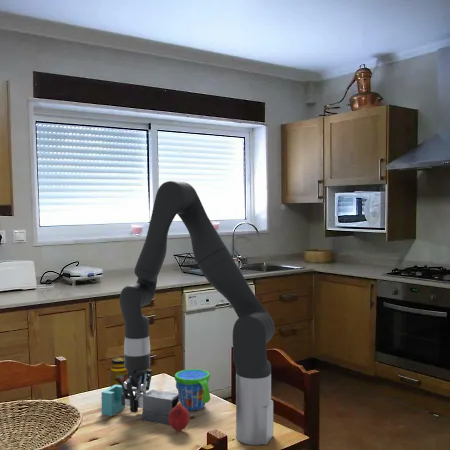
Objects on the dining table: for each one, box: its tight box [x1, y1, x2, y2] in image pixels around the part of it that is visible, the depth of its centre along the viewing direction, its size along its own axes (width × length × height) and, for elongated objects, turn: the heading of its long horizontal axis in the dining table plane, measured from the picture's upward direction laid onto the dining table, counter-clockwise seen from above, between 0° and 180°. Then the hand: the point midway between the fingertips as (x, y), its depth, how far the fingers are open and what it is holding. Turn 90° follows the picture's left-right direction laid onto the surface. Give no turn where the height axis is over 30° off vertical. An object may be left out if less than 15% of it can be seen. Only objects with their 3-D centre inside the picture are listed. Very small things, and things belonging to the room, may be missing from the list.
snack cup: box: [174, 368, 211, 412], centre depth 154 cm, size 16×10×10 cm
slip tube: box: [121, 392, 147, 409], centre depth 147 cm, size 14×3×3 cm, turn 68°
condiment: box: [101, 356, 128, 399], centre depth 164 cm, size 7×8×12 cm
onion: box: [168, 401, 191, 433], centre depth 137 cm, size 6×6×8 cm
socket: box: [101, 385, 126, 417], centre depth 152 cm, size 4×7×7 cm, turn 158°
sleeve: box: [141, 389, 180, 426], centre depth 146 cm, size 9×6×7 cm, turn 68°
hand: (137, 409), depth 149 cm, fingers closed on slip tube, 3 cm apart
